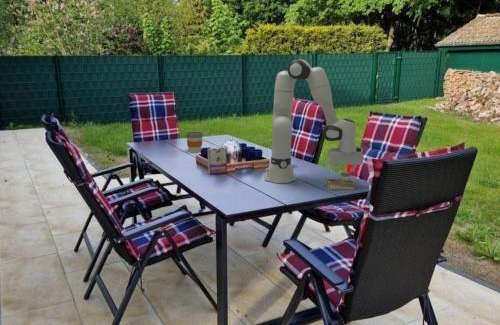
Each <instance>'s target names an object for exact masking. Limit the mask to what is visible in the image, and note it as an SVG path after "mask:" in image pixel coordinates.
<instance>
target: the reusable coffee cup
mask: <svg viewBox="0 0 500 325" xmlns="http://www.w3.org/2000/svg"><path fill="white" fill-rule="evenodd" d="M185 136H186V145H187V149H188V153H189V152H190V153H189V154H199V153H198V152H200V150H201V151H202V146H203V137H204V136H203V132H201V131H189V132H186V135H185ZM200 153H201V152H200Z"/></svg>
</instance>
